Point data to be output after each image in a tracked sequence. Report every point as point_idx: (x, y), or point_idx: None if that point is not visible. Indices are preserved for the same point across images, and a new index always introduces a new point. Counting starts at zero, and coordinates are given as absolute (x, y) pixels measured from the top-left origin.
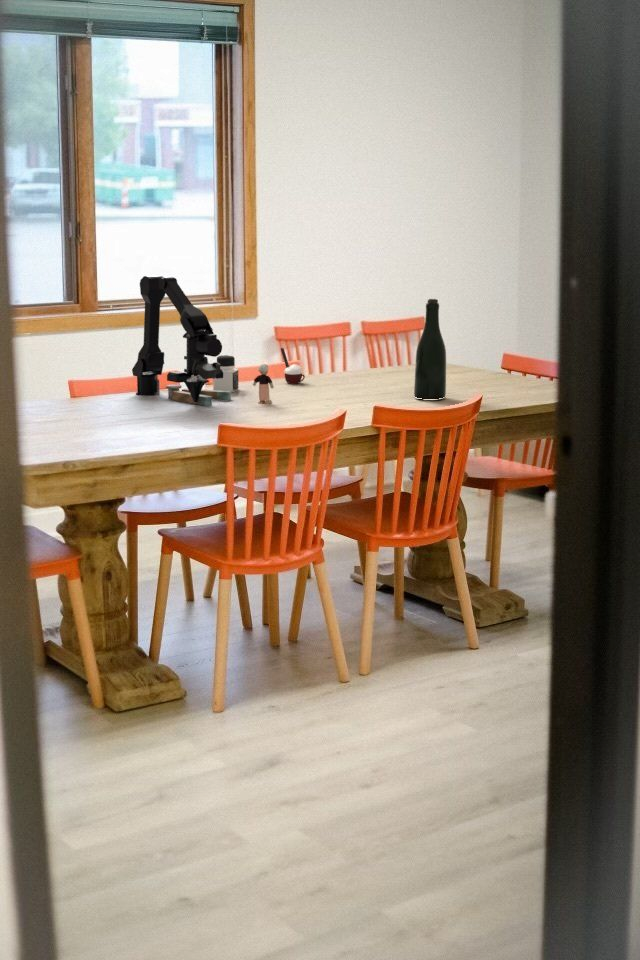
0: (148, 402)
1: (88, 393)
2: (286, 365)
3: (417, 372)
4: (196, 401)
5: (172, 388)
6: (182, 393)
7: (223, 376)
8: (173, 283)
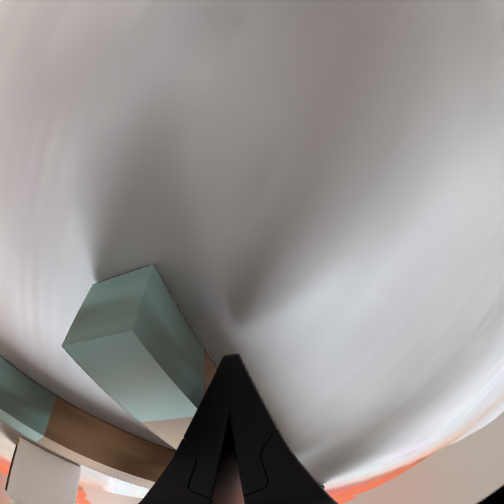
0: (388, 427)
1: (388, 477)
2: None
3: None
4: (231, 356)
5: None
6: None
7: (39, 495)
8: None
